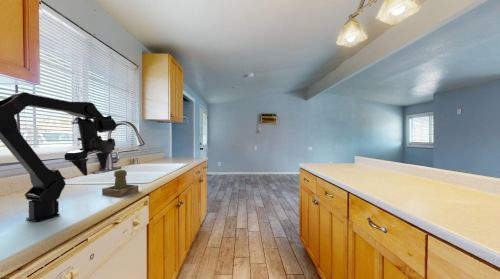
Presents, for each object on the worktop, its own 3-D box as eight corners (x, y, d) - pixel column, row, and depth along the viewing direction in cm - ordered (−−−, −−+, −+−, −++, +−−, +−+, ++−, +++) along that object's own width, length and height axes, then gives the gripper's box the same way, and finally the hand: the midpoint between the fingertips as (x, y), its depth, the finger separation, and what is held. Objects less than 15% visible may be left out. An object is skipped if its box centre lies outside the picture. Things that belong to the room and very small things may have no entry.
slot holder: (118, 197, 97) (118, 190, 97) (102, 194, 101) (102, 188, 101) (138, 191, 107) (138, 185, 107) (123, 189, 111) (123, 183, 111)
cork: (130, 192, 106) (130, 169, 106) (119, 195, 100) (119, 171, 100) (121, 190, 108) (121, 168, 108) (110, 194, 102) (109, 170, 102)
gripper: (87, 137, 77) (95, 179, 80) (123, 130, 95) (128, 165, 98) (59, 138, 78) (67, 179, 81) (100, 131, 97) (105, 165, 99)
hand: (95, 171), depth 90 cm, fingers open, 9 cm apart
